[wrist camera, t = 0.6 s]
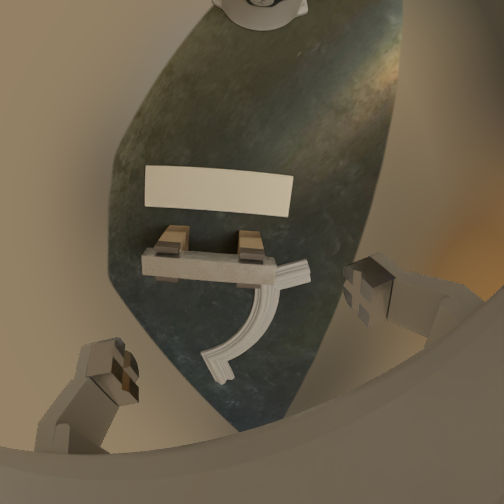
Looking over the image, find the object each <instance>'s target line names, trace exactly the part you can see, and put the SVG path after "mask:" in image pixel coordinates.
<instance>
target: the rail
mask: <svg viewBox="0 0 504 504" xmlns="http://www.w3.org/2000/svg"><path fill="white" fill-rule="evenodd" d="M141 256H142V272H143V275H151V276H162V277H172V278H183V279H195V280H207V281H219V282H233V283H247V284H262V285H274V281H275V275H276V269H277V265H276V262H275V259H274V257H265V259H264V260H252V259H240V258H239V255H236V254H223V253H211V252H198V251H185V250H179V252H178V254H176V253H163V252H154V248H147V249H146V250H145V251H144V253H143V254H142V255H141Z"/></svg>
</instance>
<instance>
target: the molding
mask: <svg viewBox="0 0 504 504" xmlns="http://www.w3.org/2000/svg"><path fill="white" fill-rule="evenodd" d="M309 274H310V269H309V266H308V263H307V259H303V260H299V261H295V262H291V263H288V264H284V265H280V266H277V269H276V275H275V281H274V285H262V284H261V288H260V289H255V295H254V301H253V305H252V309H251V311H250V314H249V316H248V318H247V320H246V321H245V323H244V324H243V326H242V327H241V328H240V329H239V331H238V332H237V333H236V334H235V335H233V336H232V337H231V338H230V339H228V340H227V341H225V342H224V343H222V344H220V345H218V346H216V347H214V348H211V349H208V350H205V351H201V355H202V357H203V359H204V361H205V363H206V364H207V366H208V368H209V370H210V372H211V374H212V376H213V377H214V379H215V381H218V383H220V384H221V385H222V384H224V383H225V382H226V380H227V379H229V380H230V379H231V380H232V379H233V378H235V376H234V374H233V372H232V370H231V367H230V365H229V363H228V361H229V360H231V359H233V358H235V357H237V356H239V355H240V354H242V353H243V352H245V351H246V350H248V349H249V348H250V347H251V346H252V345H254V344H255V343H256V342H257V341H258V340H259V339H260V337H261V336H262V335H263V334H264V332H265V331H266V330H267V328H268V327H269V325H270V323H271V321H272V319H273V317H274V314H275V312H276V309H277V305H278V301H279V295H280V290H281V289H285V288H289V287H293V286H297V285H300V284H304V283H308V282H311V279H310V275H309Z"/></svg>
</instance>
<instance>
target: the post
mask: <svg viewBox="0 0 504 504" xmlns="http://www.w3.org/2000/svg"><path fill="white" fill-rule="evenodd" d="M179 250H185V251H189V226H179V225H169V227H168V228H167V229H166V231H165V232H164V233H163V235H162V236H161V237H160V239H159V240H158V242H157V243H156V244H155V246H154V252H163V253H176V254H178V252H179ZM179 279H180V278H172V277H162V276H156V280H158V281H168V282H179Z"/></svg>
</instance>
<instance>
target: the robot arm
mask: <svg viewBox="0 0 504 504" xmlns="http://www.w3.org/2000/svg"><path fill="white" fill-rule="evenodd" d="M212 3H213V4H214V5H215V6H217V7H219V8H221V9H222V10H223V11H224V12H225V13H226V15H227V16H228V17H229V18H230V19H231V20H232V21H233V22H234V23H236V24H237V25H239V26H242V27H244V28H247V29H251V30H258V31H266V30H273V29H277V28H280V27H282V26H284V25H286V24H287V23H289V22H290V21H291V20H292V19H294V18H295V17H299V16H302V15H305V14H306V13H307V12H308V6H307V1H306V0H212ZM302 5H303V6H302ZM344 277H345V278H346V279H347V280H346V282H345V284H344V285H343V289H344V296H345V299H346V301H347V303H348V305H349V306H350V307H351V308H352V309H354V310H357V311H359V313H358V316H359V318H360V319H361V320H362V321H363V322H364V324H365V325H366V326H367V327H371V326H373V325H375V324H377V323H379V322H381V321H384V320H386V319H387V320H388V321H390V322H392V323H395V324H397V325H399V326H402V327H404V328H406V329H409V330H411V331H413V332H416V333H418V334H420V335H422V336H425V337H427V338H428V339H427V341H426V344H425V347H424V349H423V350H421V351H420V352H418V353H417V354H415V355H414V356H412V357H410V358H409V359H407V360H405V361H404V362H402V363H400V364H399V365H397V366H396V367H394V368H392V369H390V370H389V371H387V372H385V373H383V374H381V375H380V376H378V377H376V378H374V379H372V380H370V381H368V382H366V383H365V384H363V385H361V386H359V387H357V388H355V389H353V390H351V391H349V392H346V393H344V394H342V395H340V396H338V397H336V398H334V399H331V400H329V401H327V402H324V403H322V404H320V405H317V406H315V407H313V408H310V409H308V410H305V411H303V412H300V413H297V414H295V415H292V416H289V417H287V418H284V419H281V420H278V421H275V422H272V423H269V424H266V425H263V426H260V427H257V428H254V429H250V430H247V431H243V432H240V433H236V434H232V435H229V436H225V437H221V438H217V439H213V440H208V441H203V442H199V443H194V444H189V445H183V446H178V447H172V448H165V449H158V450H150V451H141V452H131V453H118V454H110V453H109V452H107V451H106V450H104V449H102V448H101V447H100V446H101V444H102V442H103V440H104V437H105V435H106V433H107V431H108V429H109V427H110V425H111V423H112V421H113V419H114V417H115V415H116V413H117V411H118V409H119V406H124V405H129V404H134V403H139V387H138V386H137V385H136V384H135V382H136V381H137V379H138V378H139V370H138V366H137V362H136V360H135V358H134V357H133V355H132V354H131V353H130V352H128V351H126V350H125V344H124V342H123V341H122V340H121V338H118V337H116V338H112V339H107V340H103V341H99V342H94V343H90V344H85V345H83V346H82V347H81V350H80V354H79V359H78V363H77V367H76V372H75V377H74V380H70V382H69V383H68V384H67V386H66V387H65V388H64V390H63V391H62V392H61V393H60V395H59V396H58V397H57V398H56V400H55V401H54V403H53V404H52V405H51V406H50V408H49V409H48V410H47V412H46V413H45V415H44V416H43V417H42V419H41V420H40V421H39V423H38V428H37V435H36V442H35V449H34V452H33V451H25V450H18V449H11V448H6V447H0V504H504V285H503V286H502V287H501V288H500V289H499V290H498V291H497V292H496V293H495V294H494V295H493V296H492V297H490V298H489V299H488V300H487V301H486V302H484V301H483V300H482V299H481V298H480V297H478V296H477V295H476V294H475V293H474V292H472V291H471V290H470V289H469V288H467V287H466V286H465V285H463V284H459V283H455V282H451V281H447V280H443V279H439V278H434V277H430V276H426V275H422V274H418V273H414V272H409V273H406V272H405V271H404V270H403V269H402V268H400V267H399V266H398V265H397V264H395V263H394V262H393V261H391V260H390V259H389V258H388V257H386V256H385V255H384V254H383V253H379V252H378V253H376V254H373V255H371V256H368V257H367V258H364V259H362V260H359V261H357V262H354V263H351V264H349V265H346V266H345V267H344Z"/></svg>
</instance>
